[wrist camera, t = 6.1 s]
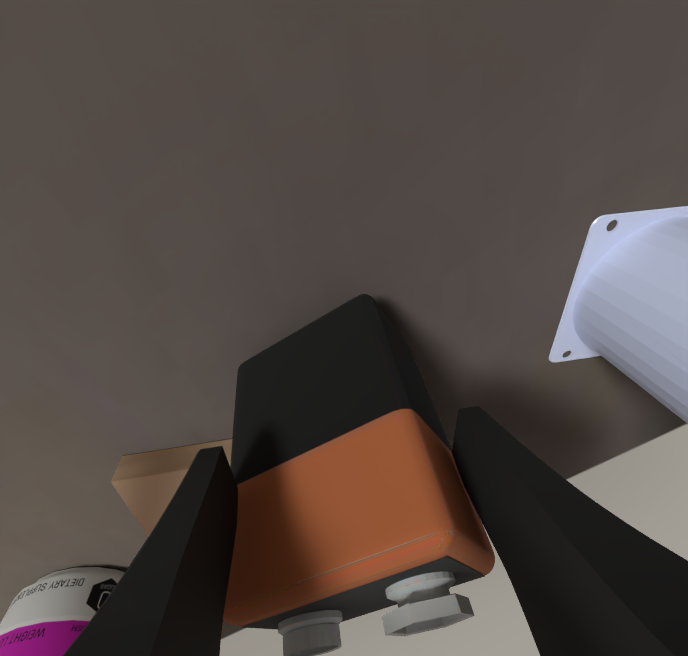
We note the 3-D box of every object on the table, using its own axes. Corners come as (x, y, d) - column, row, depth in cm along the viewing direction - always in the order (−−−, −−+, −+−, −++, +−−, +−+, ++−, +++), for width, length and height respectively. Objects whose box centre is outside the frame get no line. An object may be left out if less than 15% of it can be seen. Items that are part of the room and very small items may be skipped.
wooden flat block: (421, 409, 20) (430, 430, 19) (412, 517, 26) (419, 538, 25) (122, 455, 18) (110, 481, 17) (185, 559, 24) (180, 584, 23)
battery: (410, 345, 17) (521, 611, 9) (292, 406, 18) (309, 670, 11) (366, 284, 14) (475, 594, 7) (232, 362, 16) (202, 678, 8)
